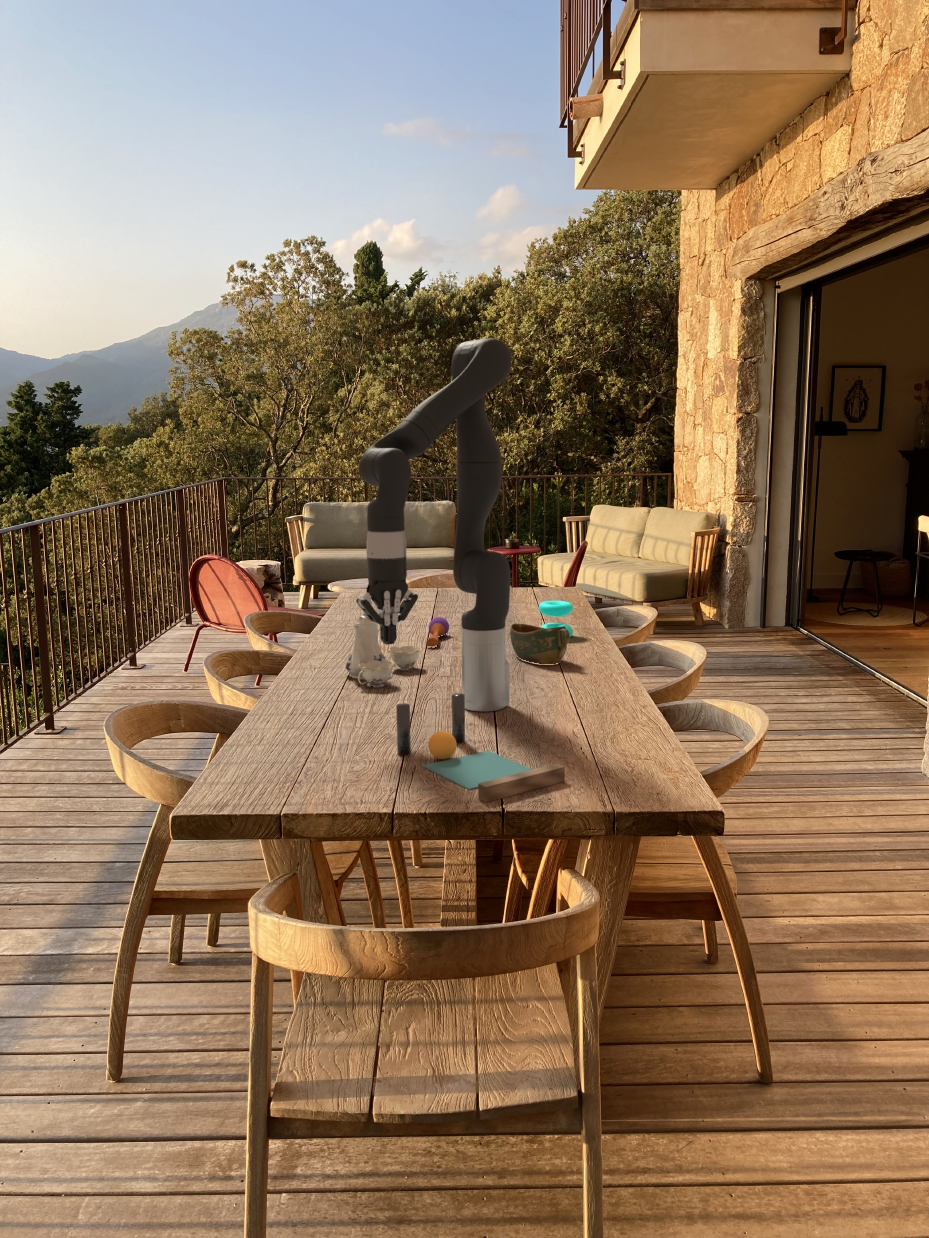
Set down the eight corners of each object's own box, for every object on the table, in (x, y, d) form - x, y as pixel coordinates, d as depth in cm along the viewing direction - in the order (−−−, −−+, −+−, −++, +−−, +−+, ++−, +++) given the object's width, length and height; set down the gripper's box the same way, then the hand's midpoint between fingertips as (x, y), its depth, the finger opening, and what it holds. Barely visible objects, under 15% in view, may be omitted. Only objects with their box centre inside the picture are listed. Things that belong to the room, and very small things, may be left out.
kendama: (419, 635, 258) (428, 616, 278) (424, 655, 260) (432, 635, 279) (440, 631, 258) (447, 613, 277) (445, 651, 259) (452, 632, 278)
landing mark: (488, 751, 170) (488, 750, 170) (536, 772, 159) (536, 771, 159) (422, 766, 162) (422, 765, 162) (469, 789, 151) (469, 788, 151)
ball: (461, 732, 164) (461, 760, 165) (449, 726, 169) (449, 753, 170) (434, 736, 162) (435, 764, 163) (423, 729, 167) (424, 757, 168)
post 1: (406, 750, 171) (405, 702, 170) (413, 753, 169) (412, 705, 168) (395, 752, 170) (393, 704, 168) (401, 756, 168) (400, 707, 166)
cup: (521, 670, 232) (521, 630, 230) (507, 654, 251) (508, 616, 250) (572, 669, 233) (573, 628, 232) (555, 653, 253) (555, 615, 251)
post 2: (460, 738, 178) (459, 692, 176) (467, 741, 176) (467, 695, 174) (449, 741, 176) (449, 694, 175) (456, 744, 174) (456, 697, 173)
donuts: (579, 603, 270) (549, 606, 265) (579, 638, 271) (549, 641, 267) (561, 599, 278) (532, 601, 274) (561, 632, 280) (532, 635, 276)
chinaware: (392, 699, 213) (397, 628, 210) (322, 688, 216) (327, 618, 213) (424, 671, 240) (430, 607, 237) (362, 661, 243) (367, 599, 240)
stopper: (556, 777, 156) (556, 763, 156) (564, 781, 155) (564, 766, 154) (478, 798, 147) (478, 783, 147) (485, 802, 146) (485, 787, 145)
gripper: (365, 558, 172) (368, 651, 175) (426, 553, 180) (427, 642, 183) (346, 555, 178) (349, 644, 181) (406, 550, 186) (407, 636, 189)
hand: (388, 643), depth 182 cm, fingers closed
